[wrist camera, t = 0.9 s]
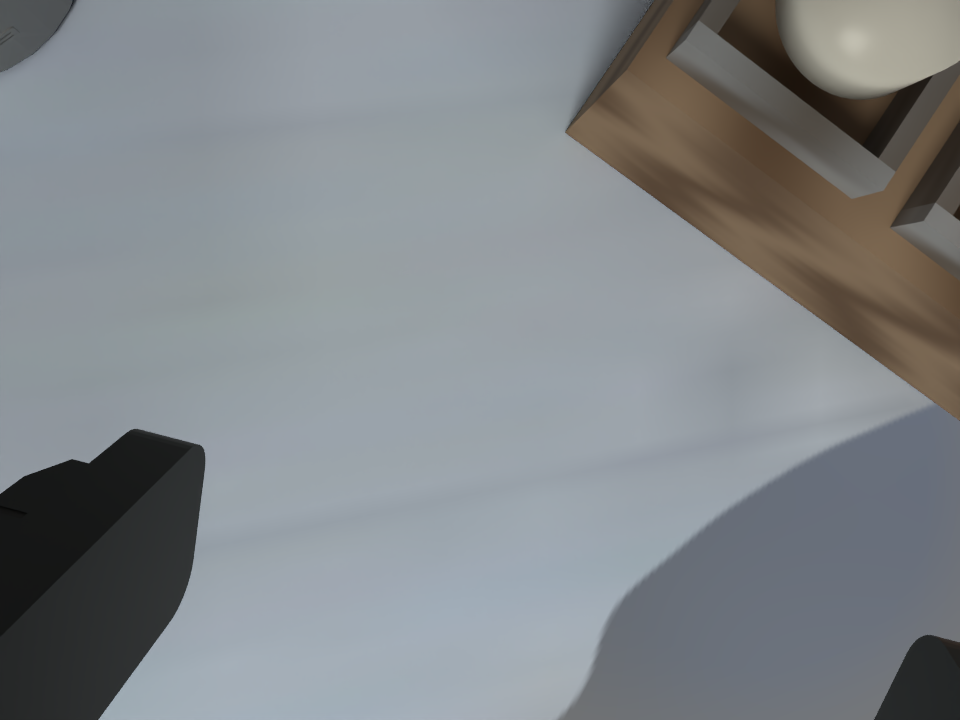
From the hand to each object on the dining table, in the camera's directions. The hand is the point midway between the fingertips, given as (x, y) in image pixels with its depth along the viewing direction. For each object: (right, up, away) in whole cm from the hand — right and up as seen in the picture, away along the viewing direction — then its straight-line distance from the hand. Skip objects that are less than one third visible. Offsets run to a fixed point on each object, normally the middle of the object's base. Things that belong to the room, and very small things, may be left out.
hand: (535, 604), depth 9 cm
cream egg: (+9, +12, +12) cm, 20 cm away
